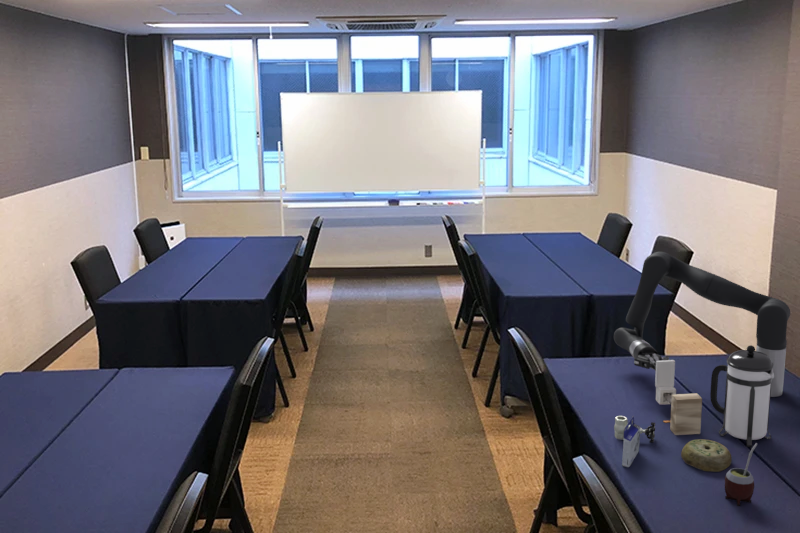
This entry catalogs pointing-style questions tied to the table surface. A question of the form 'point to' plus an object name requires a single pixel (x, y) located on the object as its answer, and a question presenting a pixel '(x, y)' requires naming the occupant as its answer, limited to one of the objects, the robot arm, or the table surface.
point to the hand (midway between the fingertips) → (660, 369)
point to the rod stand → (684, 413)
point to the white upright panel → (664, 380)
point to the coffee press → (745, 394)
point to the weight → (706, 455)
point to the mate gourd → (740, 483)
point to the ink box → (630, 442)
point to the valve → (623, 421)
